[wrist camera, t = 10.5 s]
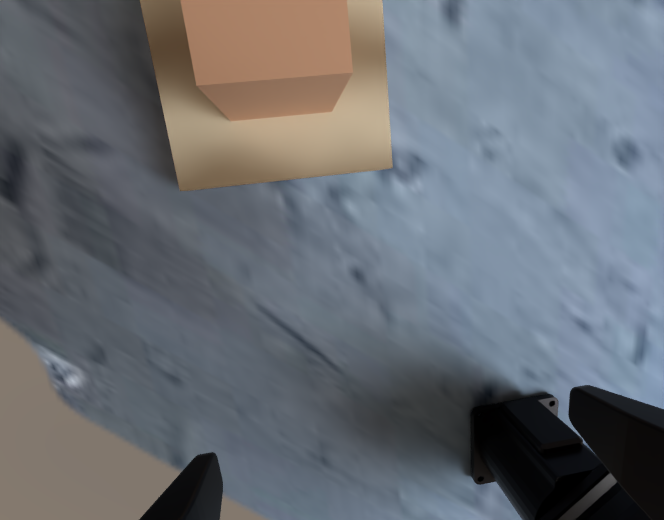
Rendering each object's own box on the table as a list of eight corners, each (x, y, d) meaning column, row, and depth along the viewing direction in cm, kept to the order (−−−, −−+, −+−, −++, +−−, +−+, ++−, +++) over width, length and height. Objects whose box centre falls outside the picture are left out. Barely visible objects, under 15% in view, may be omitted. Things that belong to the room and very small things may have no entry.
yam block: (331, 111, 17) (353, 72, 11) (230, 121, 16) (196, 85, 10) (320, -3, 15) (337, -117, 10) (211, 3, 15) (159, -111, 9)
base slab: (382, 169, 20) (392, 167, 18) (191, 190, 19) (180, 190, 17) (367, -52, 17) (377, -82, 15) (144, -41, 16) (124, -72, 14)
